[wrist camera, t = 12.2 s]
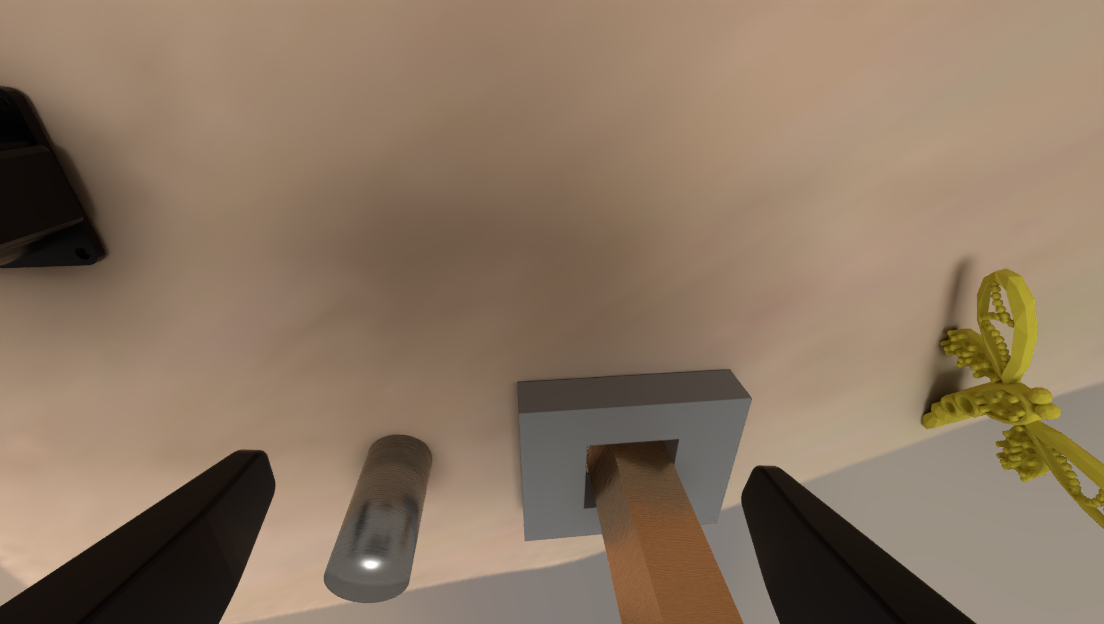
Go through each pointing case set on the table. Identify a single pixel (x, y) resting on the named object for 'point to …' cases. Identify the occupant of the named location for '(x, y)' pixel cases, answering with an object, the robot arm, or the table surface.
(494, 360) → the table surface
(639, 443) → the square bit
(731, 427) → the socket plate
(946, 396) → the decorative insect
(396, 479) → the round bit
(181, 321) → the table surface
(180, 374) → the table surface
